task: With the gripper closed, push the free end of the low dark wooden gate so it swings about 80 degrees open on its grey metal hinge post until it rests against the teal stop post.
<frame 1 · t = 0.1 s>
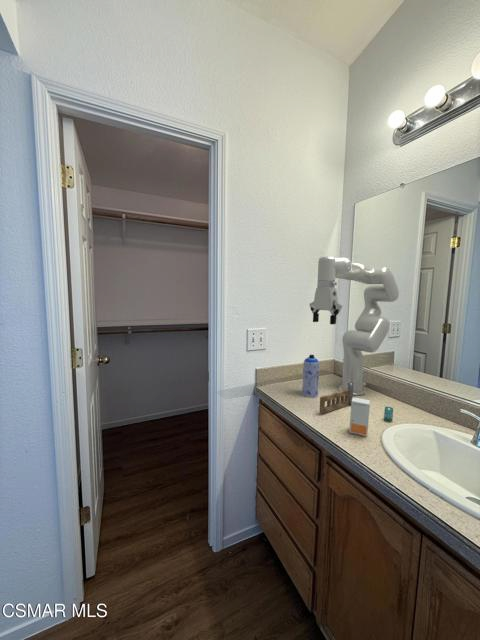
hand: (323, 323, 124), 37 cm above the counter, tool pointing down, fingers open, 9 cm apart
gate frame: (349, 404, 124), on the counter
gate: (335, 401, 118), point 4 cm above the counter, hinge at 0.0°
aerosol can: (310, 395, 136), on the counter
skincare box: (358, 432, 99), on the counter
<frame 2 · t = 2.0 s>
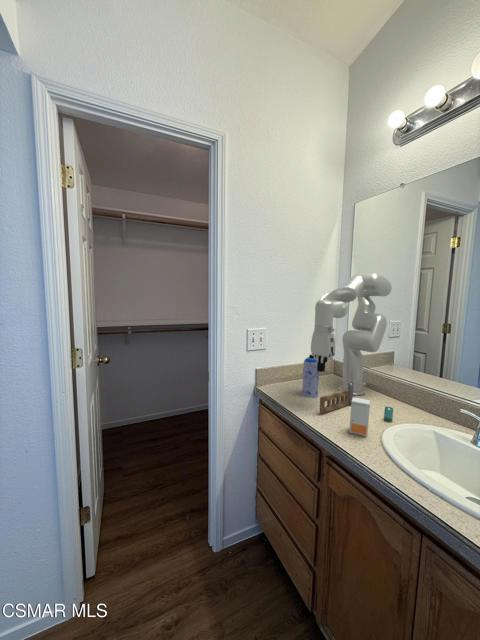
hand: (320, 371, 120), 16 cm above the counter, tool pointing down, fingers closed
nothing on the counter moved.
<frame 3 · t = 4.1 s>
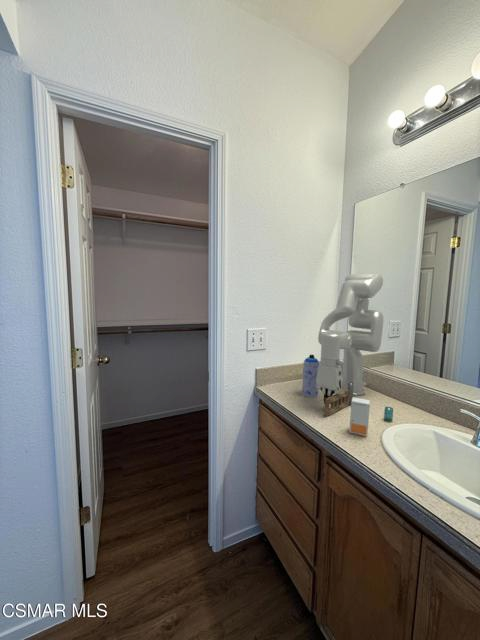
hand: (327, 403, 118), 3 cm above the counter, tool pointing down, fingers closed
gate: (337, 401, 117), point 4 cm above the counter, hinge at 7.0°, touching gripper
everything else where it was.
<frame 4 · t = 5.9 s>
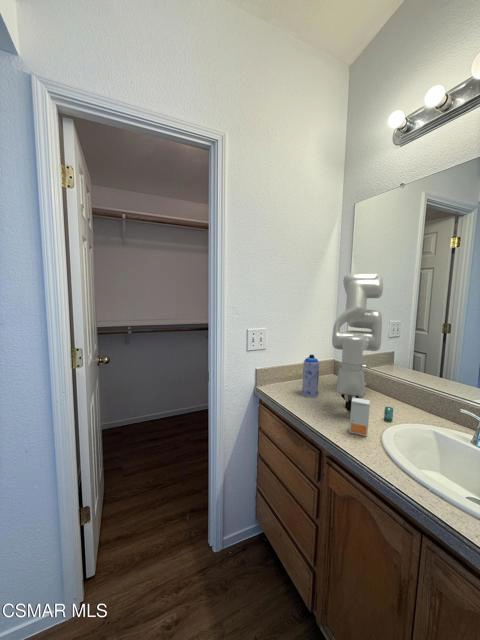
hand: (348, 410, 112), 3 cm above the counter, tool pointing down, fingers closed
gate: (356, 405, 113), point 4 cm above the counter, hinge at 49.2°, touching gripper
everything else where it was.
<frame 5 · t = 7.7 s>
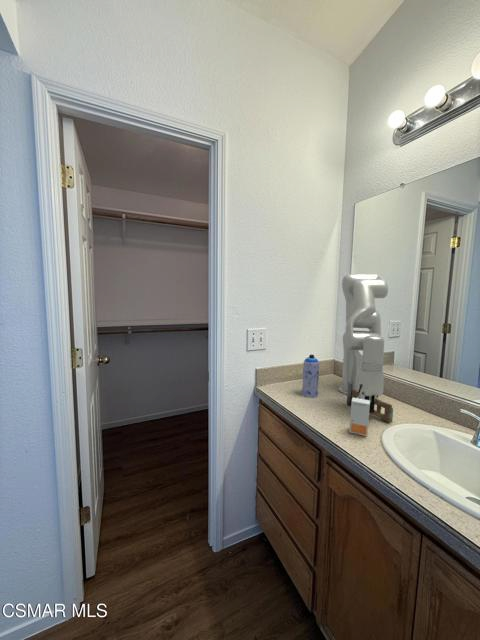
hand: (369, 411, 111), 3 cm above the counter, tool pointing down, fingers closed
gate: (370, 404, 114), point 4 cm above the counter, hinge at 83.1°, touching gate frame, gripper
everything else where it was.
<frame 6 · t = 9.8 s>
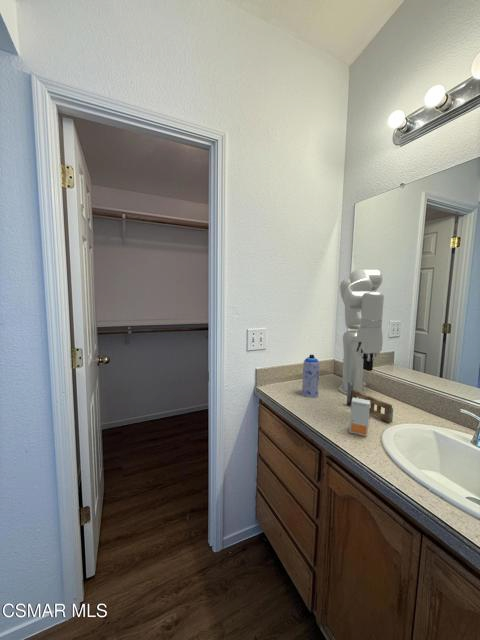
hand: (367, 369, 109), 20 cm above the counter, tool pointing down, fingers closed
gate: (370, 404, 114), point 4 cm above the counter, hinge at 83.1°
everything else where it was.
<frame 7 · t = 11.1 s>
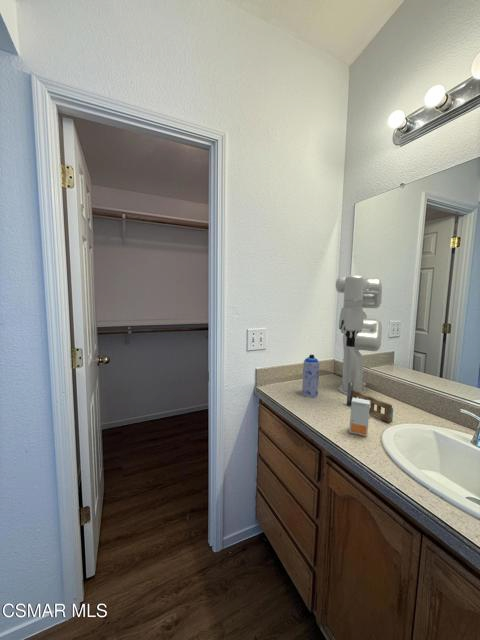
hand: (350, 346, 120), 27 cm above the counter, tool pointing down, fingers closed
nothing on the counter moved.
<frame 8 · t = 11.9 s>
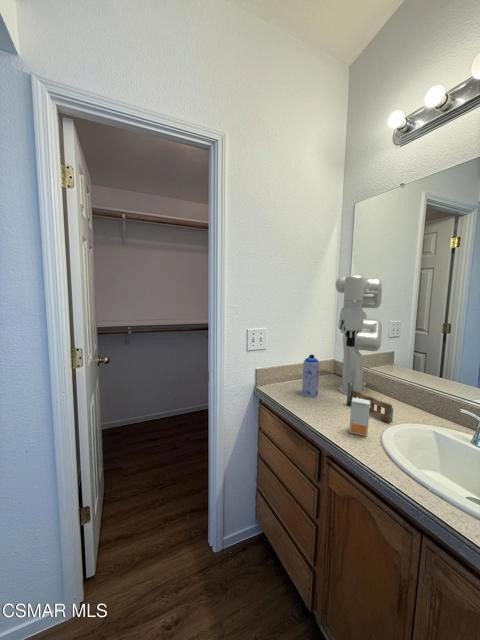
hand: (350, 346, 120), 27 cm above the counter, tool pointing down, fingers closed
nothing on the counter moved.
at the end: gate at +83° (first picture: +0°); aerosol can moved 0.2 cm from its start; skincare box moved 0.2 cm from its start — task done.
